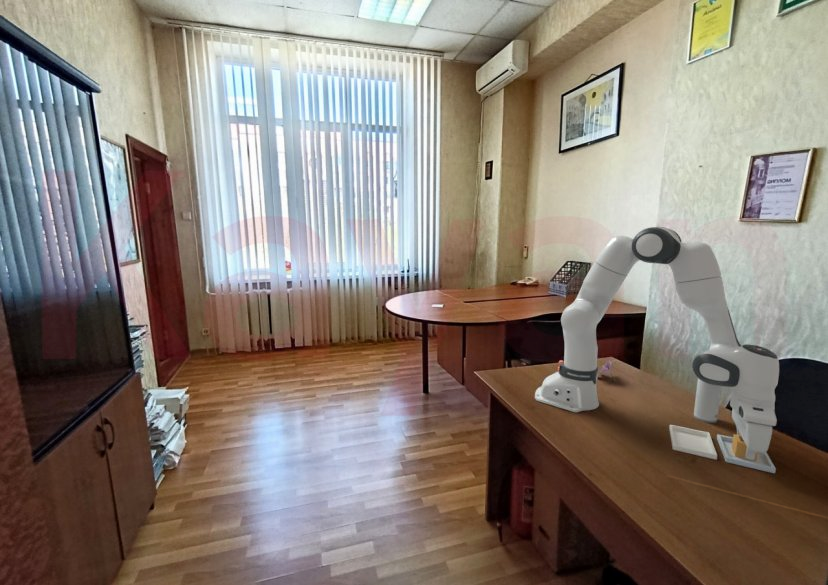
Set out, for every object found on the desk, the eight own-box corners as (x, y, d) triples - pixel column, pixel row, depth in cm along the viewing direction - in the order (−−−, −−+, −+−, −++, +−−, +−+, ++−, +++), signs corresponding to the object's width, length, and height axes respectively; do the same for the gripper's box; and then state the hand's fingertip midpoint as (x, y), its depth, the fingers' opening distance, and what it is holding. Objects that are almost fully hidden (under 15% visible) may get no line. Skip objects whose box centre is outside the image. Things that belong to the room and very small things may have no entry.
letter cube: (735, 456, 103) (737, 441, 102) (731, 448, 107) (733, 433, 106) (756, 461, 101) (758, 445, 100) (752, 452, 105) (754, 437, 104)
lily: (615, 375, 163) (605, 355, 165) (633, 375, 152) (621, 354, 153) (593, 386, 161) (582, 366, 163) (609, 387, 150) (597, 365, 151)
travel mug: (722, 425, 120) (730, 367, 116) (699, 423, 121) (706, 366, 118) (711, 415, 126) (718, 360, 122) (689, 414, 127) (696, 359, 124)
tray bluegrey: (725, 463, 101) (726, 457, 101) (716, 439, 112) (717, 434, 112) (774, 474, 96) (775, 468, 96) (760, 448, 107) (761, 443, 107)
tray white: (672, 450, 107) (673, 445, 107) (669, 429, 118) (669, 424, 118) (716, 461, 102) (717, 455, 102) (708, 437, 113) (709, 432, 113)
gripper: (728, 387, 112) (723, 428, 114) (745, 417, 94) (739, 466, 97) (756, 391, 108) (749, 434, 111) (779, 423, 91) (771, 473, 94)
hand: (745, 449), depth 104 cm, fingers open, 8 cm apart
